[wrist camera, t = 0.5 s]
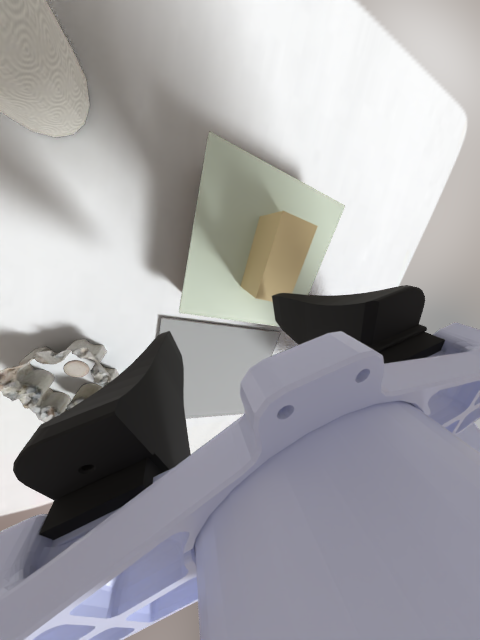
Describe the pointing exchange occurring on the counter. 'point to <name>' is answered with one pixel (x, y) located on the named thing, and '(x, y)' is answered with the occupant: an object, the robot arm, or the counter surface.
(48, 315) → the counter surface
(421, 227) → the counter surface
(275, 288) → the lid
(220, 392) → the mat
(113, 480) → the robot arm
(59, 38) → the paper towel roll
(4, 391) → the egg carton
